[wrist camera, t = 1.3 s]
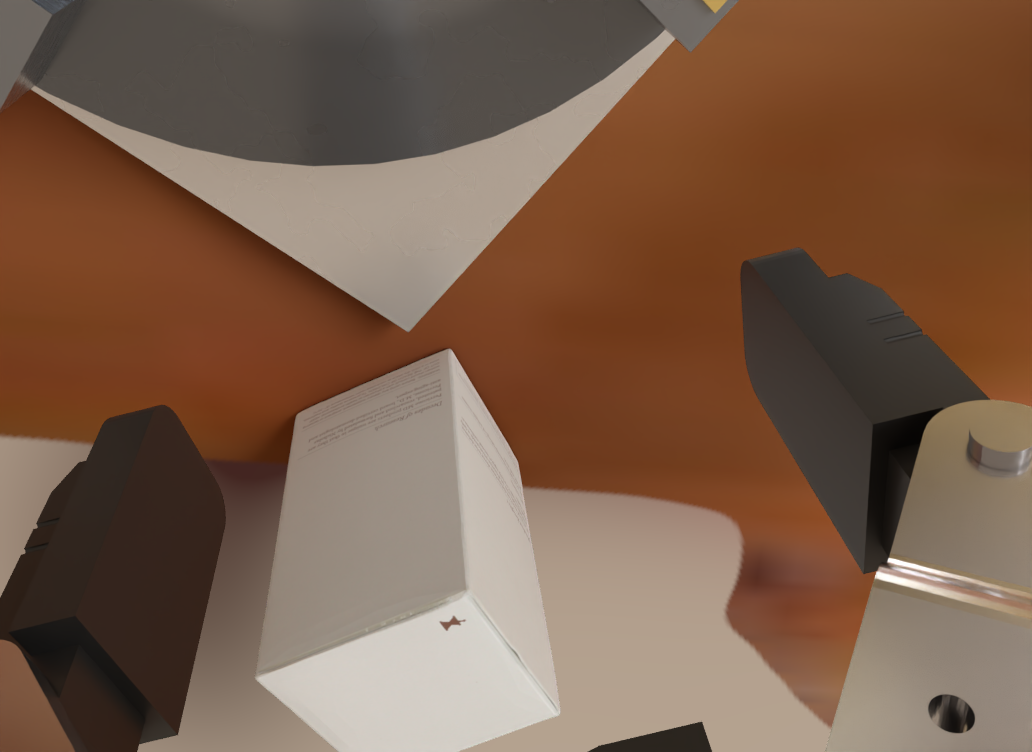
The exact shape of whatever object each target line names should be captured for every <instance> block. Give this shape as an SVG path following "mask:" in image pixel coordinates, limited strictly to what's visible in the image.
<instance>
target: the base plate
mask: <svg viewBox="0 0 1032 752" xmlns="http://www.w3.org/2000/svg"><path fill="white" fill-rule="evenodd" d="M674 40H675V38H674V37H673V36H672V35H671V34H669V33H668V32H667V31H666V30H664V31H663V32H662V33H661V34H660V35H659V36H658V37H657V38H656V39H655V40H653V41H652V42H651V43H650V44H648V45H647V46H646V47H645V48H643V49H642V50H641V51H639V52H638V53H637V54H636V55H634V56H633V57H632V58H631V59H629V60H628V61H627V62H625V63H624V64H623V65H622V66H620V67H619V68H618V69H616V70H615V71H614V72H613V73H611V74H610V75H609V76H608V77H606V78H605V79H604V80H602V81H600V82H599V83H597V84H595V85H594V86H592V87H590V88H589V89H587V90H585V91H584V92H582V93H580V94H579V95H577V96H575V97H574V98H572V99H570V100H569V101H567V102H565V103H564V104H562V105H560V106H559V107H557V108H556V109H554V110H552V111H551V112H549V113H546V114H544V115H542V116H540V117H537V118H535V119H533V120H531V121H528V122H526V123H524V124H521V125H519V126H517V127H515V128H512V129H510V130H508V131H506V132H503V133H501V134H499V135H497V136H494V137H492V138H488V139H485V140H481V141H478V142H475V143H471V144H468V145H465V146H461V147H458V148H455V149H451V150H448V151H445V152H441V153H438V154H434V155H428V156H422V157H415V158H409V159H403V160H397V161H391V162H385V163H379V164H363V165H334V166H305V165H294V164H283V163H271V162H260V161H249V160H245V159H240V158H235V157H230V156H225V155H221V154H216V153H211V152H206V151H201V150H197V149H192V148H187V147H183V146H180V145H177V144H174V143H171V142H168V141H165V140H162V139H159V138H156V137H153V136H150V135H147V134H144V133H141V132H138V131H135V130H132V129H128V128H125V127H122V126H119V125H117V124H114V123H112V122H110V121H108V120H106V119H103V118H101V117H99V116H97V115H95V114H92V113H90V112H88V111H86V110H84V109H81V108H79V107H77V106H75V105H72V104H70V103H68V102H66V101H64V100H61V99H59V98H57V97H55V96H53V95H50V94H48V93H46V92H45V91H43V90H41V89H40V88H38V87H36V86H34V87H33V88H31V90H33V91H34V92H36V93H37V94H39V95H40V96H42V97H44V98H45V99H47V100H48V101H50V102H51V103H53V104H54V105H56V106H58V107H59V108H61V109H62V110H64V111H65V112H67V113H68V114H70V115H72V116H73V117H75V118H76V119H78V120H79V121H81V122H82V123H84V124H86V125H87V126H89V127H90V128H92V129H93V130H95V131H96V132H98V133H100V134H101V135H103V136H104V137H106V138H107V139H109V140H110V141H112V142H114V143H115V144H117V145H118V146H120V147H121V148H123V149H124V150H126V151H128V152H129V153H131V154H132V155H134V156H135V157H137V158H138V159H140V160H141V161H143V162H145V163H146V164H148V165H149V166H151V167H152V168H154V169H155V170H157V171H159V172H160V173H162V174H163V175H165V176H166V177H168V178H169V179H171V180H173V181H174V182H176V183H177V184H179V185H180V186H182V187H183V188H185V189H187V190H188V191H190V192H191V193H193V194H194V195H196V196H197V197H199V198H201V199H202V200H204V201H205V202H207V203H208V204H210V205H211V206H213V207H215V208H216V209H218V210H219V211H221V212H222V213H224V214H225V215H227V216H229V217H230V218H232V219H233V220H235V221H236V222H238V223H239V224H241V225H242V226H244V227H246V228H247V229H249V230H250V231H252V232H253V233H255V234H256V235H258V236H260V237H261V238H263V239H264V240H266V241H267V242H269V243H270V244H272V245H274V246H275V247H277V248H278V249H280V250H281V251H283V252H284V253H286V254H288V255H289V256H291V257H292V258H294V259H295V260H297V261H298V262H300V263H302V264H303V265H305V266H306V267H308V268H309V269H311V270H312V271H314V272H316V273H317V274H319V275H320V276H322V277H323V278H325V279H326V280H328V281H330V282H331V283H333V284H334V285H336V286H337V287H339V288H340V289H342V290H343V291H345V292H347V293H348V294H350V295H351V296H353V297H354V298H356V299H357V300H359V301H361V302H362V303H364V304H365V305H367V306H368V307H370V308H371V309H373V310H375V311H376V312H378V313H379V314H381V315H382V316H384V317H385V318H387V319H389V320H390V321H392V322H393V323H395V324H396V325H398V326H399V327H401V328H403V329H404V330H406V331H407V332H409V331H410V330H411V329H412V328H413V327H414V326H415V325H416V324H417V322H418V321H419V320H420V319H421V318H422V317H423V316H424V315H425V314H426V313H427V311H428V310H429V309H430V308H431V307H432V306H433V305H434V304H435V303H436V302H437V300H438V299H439V298H440V297H441V296H442V295H443V294H444V293H445V292H446V291H447V289H448V288H449V287H450V286H451V285H452V284H453V283H454V282H455V281H456V280H457V278H458V277H459V276H460V275H461V274H462V273H463V272H464V271H465V270H466V268H467V267H468V266H469V265H470V264H471V263H472V262H473V261H474V260H475V259H476V257H477V256H478V255H479V254H480V253H481V252H482V251H483V250H484V249H485V248H486V246H487V245H488V244H489V243H490V242H491V241H492V240H493V239H494V238H495V237H496V235H497V234H498V233H499V232H500V231H501V230H502V229H503V228H504V227H505V226H506V224H507V223H508V222H509V221H510V220H511V219H512V218H513V217H514V216H515V215H516V213H517V212H518V211H519V210H520V209H521V208H522V207H523V206H524V205H525V204H526V202H527V201H528V200H529V199H530V198H531V197H532V196H533V195H534V194H535V193H536V191H537V190H538V189H539V188H540V187H541V186H542V185H543V184H544V183H545V182H546V180H547V179H548V178H549V177H550V176H551V175H552V174H553V173H554V172H555V171H556V169H557V168H558V167H559V166H560V165H561V164H562V163H563V162H564V161H565V160H566V158H567V157H568V156H569V155H570V154H571V153H572V152H573V151H574V150H575V149H576V147H577V146H578V145H579V144H580V143H581V142H582V141H583V140H584V139H585V138H586V136H587V135H588V134H589V133H590V132H591V131H592V130H593V129H594V128H595V127H596V125H597V124H598V123H599V122H600V121H601V120H602V119H603V118H604V117H605V116H606V114H607V113H608V112H609V111H610V110H611V109H612V108H613V107H614V106H615V105H616V103H617V102H618V101H619V100H620V99H621V98H622V97H623V96H624V95H625V94H626V92H627V91H628V90H629V89H630V88H631V87H632V86H633V85H634V84H635V82H636V81H637V80H638V79H639V78H640V77H641V76H642V75H643V74H644V73H645V71H646V70H647V69H648V68H649V67H650V66H651V65H652V64H653V63H654V62H655V60H656V59H657V58H658V57H659V56H660V55H661V54H662V53H663V52H664V51H665V49H666V48H667V47H668V46H669V45H670V44H671V43H672V42H673V41H674Z"/></svg>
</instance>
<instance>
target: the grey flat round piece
mask: <svg viewBox="0 0 1032 752" xmlns="http://www.w3.org/2000/svg"><path fill="white" fill-rule="evenodd" d="M738 1H739V0H0V113H2V112H3V111H4V110H5V109H6V108H8V107H9V106H10V105H11V104H13V103H14V102H15V101H16V100H18V99H19V98H20V97H21V96H23V95H24V94H25V93H26V92H28V91H29V90H30V89H31V88H33V87H34V86H36V87H38V88H40V89H41V90H43V91H45V92H46V93H48V94H50V95H53V96H55V97H57V98H59V99H61V100H64V101H66V102H68V103H70V104H72V105H75V106H77V107H79V108H81V109H84V110H86V111H88V112H90V113H92V114H95V115H97V116H99V117H101V118H103V119H106V120H108V121H110V122H112V123H114V124H117V125H119V126H122V127H125V128H128V129H132V130H135V131H138V132H141V133H144V134H147V135H150V136H153V137H156V138H159V139H162V140H165V141H168V142H171V143H174V144H177V145H180V146H183V147H187V148H192V149H197V150H201V151H206V152H211V153H216V154H221V155H225V156H230V157H235V158H240V159H245V160H249V161H260V162H271V163H283V164H294V165H305V166H334V165H363V164H379V163H385V162H391V161H397V160H403V159H409V158H415V157H422V156H428V155H434V154H438V153H441V152H445V151H448V150H451V149H455V148H458V147H461V146H465V145H468V144H471V143H475V142H478V141H481V140H485V139H488V138H492V137H494V136H497V135H499V134H501V133H503V132H506V131H508V130H510V129H512V128H515V127H517V126H519V125H521V124H524V123H526V122H528V121H531V120H533V119H535V118H537V117H540V116H542V115H544V114H546V113H549V112H551V111H552V110H554V109H556V108H557V107H559V106H560V105H562V104H564V103H565V102H567V101H569V100H570V99H572V98H574V97H575V96H577V95H579V94H580V93H582V92H584V91H585V90H587V89H589V88H590V87H592V86H594V85H595V84H597V83H599V82H600V81H602V80H604V79H605V78H606V77H608V76H609V75H610V74H611V73H613V72H614V71H615V70H616V69H618V68H619V67H620V66H622V65H623V64H624V63H625V62H627V61H628V60H629V59H631V58H632V57H633V56H634V55H636V54H637V53H638V52H639V51H641V50H642V49H643V48H645V47H646V46H647V45H648V44H650V43H651V42H652V41H653V40H655V39H656V38H657V37H658V36H659V35H660V34H661V33H662V32H663V31H664V30H666V31H667V32H668V33H669V34H671V35H672V36H673V37H674V38H675V39H676V40H677V41H678V42H679V43H680V44H682V45H683V46H684V47H685V48H686V49H687V50H688V51H689V52H691V51H692V50H693V49H694V48H695V47H696V46H697V45H698V44H699V43H700V42H701V41H702V39H703V38H704V37H705V36H706V35H707V34H708V33H709V32H710V31H711V30H712V29H713V28H714V26H715V25H716V24H717V23H718V22H719V21H720V20H721V19H722V18H723V17H724V16H725V15H726V14H727V12H728V11H729V10H730V9H731V8H732V7H733V6H734V5H735V4H736V3H737V2H738Z"/></svg>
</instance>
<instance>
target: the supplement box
mask: <svg viewBox="0 0 1032 752" xmlns="http://www.w3.org/2000/svg"><path fill="white" fill-rule="evenodd" d="M255 679H256V680H257V681H258V682H259V683H260V684H261V685H263V686H264V687H265V688H266V689H267V690H268V691H269V692H271V693H272V694H273V695H274V696H275V697H276V698H278V699H279V700H280V701H281V702H282V703H283V704H284V705H286V706H287V707H288V708H289V709H290V710H291V711H293V712H294V713H295V714H296V715H297V716H298V717H299V718H300V719H302V720H303V721H304V722H305V723H306V724H307V725H308V726H310V727H311V728H312V729H313V730H314V731H315V732H316V733H317V734H319V735H320V736H321V737H322V738H323V739H324V740H325V741H326V742H328V743H329V744H330V745H331V746H332V747H333V748H335V749H336V750H337V751H338V752H459V751H461V750H464V749H467V748H469V747H472V746H475V745H477V744H480V743H483V742H486V741H489V740H491V739H494V738H497V737H499V736H502V735H505V734H508V733H510V732H513V731H516V730H518V729H521V728H524V727H527V726H529V725H532V724H535V723H538V722H541V721H544V720H546V719H550V718H553V717H557V716H559V715H560V712H561V710H560V703H559V697H558V690H557V683H556V677H555V671H554V664H553V658H552V653H551V648H550V641H549V636H548V631H547V624H546V619H545V613H544V608H543V602H542V597H541V591H540V586H539V580H538V574H537V569H536V563H535V558H534V552H533V546H532V541H531V535H530V529H529V524H528V518H527V514H526V507H525V501H524V495H523V488H522V482H521V476H520V470H519V464H518V461H517V459H516V458H515V456H514V454H513V452H512V450H511V449H510V447H509V445H508V443H507V442H506V440H505V438H504V437H503V435H502V433H501V431H500V430H499V428H498V426H497V425H496V423H495V421H494V420H493V418H492V416H491V415H490V413H489V411H488V410H487V408H486V406H485V405H484V403H483V401H482V400H481V398H480V396H479V395H478V393H477V391H476V390H475V388H474V386H473V385H472V383H471V381H470V380H469V378H468V376H467V375H466V373H465V371H464V370H463V368H462V366H461V365H460V363H459V361H458V360H457V358H456V356H455V355H454V353H453V351H452V350H451V349H446V350H444V351H441V352H438V353H436V354H434V355H431V356H429V357H426V358H424V359H421V360H419V361H417V362H414V363H412V364H410V365H408V366H405V367H403V368H401V369H398V370H396V371H393V372H390V373H388V374H386V375H384V376H381V377H379V378H377V379H374V380H372V381H370V382H367V383H365V384H362V385H360V386H358V387H355V388H353V389H351V390H349V391H346V392H344V393H341V394H339V395H337V396H335V397H332V398H330V399H328V400H326V401H323V402H320V403H318V404H316V405H314V406H311V407H310V408H307V409H305V410H303V411H302V412H300V413H298V414H297V415H296V419H295V424H294V431H293V438H292V444H291V450H290V456H289V462H288V468H287V476H286V482H285V489H284V495H283V501H282V508H281V514H280V520H279V528H278V534H277V540H276V546H275V553H274V559H273V565H272V572H271V578H270V586H269V591H268V598H267V604H266V611H265V616H264V624H263V630H262V636H261V642H260V649H259V655H258V660H257V667H256V672H255Z"/></svg>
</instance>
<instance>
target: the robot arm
mask: <svg viewBox="0 0 1032 752" xmlns="http://www.w3.org/2000/svg"><path fill="white" fill-rule="evenodd" d="M741 295H742V313H743V330H744V348H745V359H746V365H747V369H748V374H749V377H750V380H751V383H752V386H753V389H754V391H755V393H756V395H757V397H758V399H759V401H760V402H761V404H762V406H763V407H764V409H765V411H766V412H767V414H768V416H769V417H770V419H771V421H772V422H773V424H774V426H775V427H776V429H777V431H778V432H779V434H780V436H781V437H782V439H783V441H784V442H785V444H786V446H787V447H788V449H789V451H790V452H791V454H792V456H793V457H794V459H795V461H796V462H797V464H798V466H799V467H800V469H801V471H802V472H803V474H804V476H805V477H806V479H807V481H808V482H809V484H810V486H811V487H812V489H813V491H814V492H815V494H816V496H817V497H818V499H819V501H820V502H821V504H822V506H823V507H824V509H825V511H826V512H827V514H828V516H829V517H830V519H831V521H832V522H833V524H834V526H835V527H836V529H837V531H838V532H839V534H840V536H841V537H842V539H843V541H844V542H845V544H846V546H847V547H848V549H849V551H850V552H851V554H852V556H853V557H854V559H855V561H856V562H857V564H858V566H859V567H860V569H861V571H862V572H863V574H865V573H870V572H874V571H877V573H876V576H875V579H874V582H873V586H872V589H871V593H870V596H869V600H868V603H867V607H866V610H865V614H864V617H863V621H862V624H861V628H860V631H859V635H858V638H857V642H856V645H855V649H854V652H853V656H852V659H851V663H850V666H849V670H848V673H847V677H846V680H845V684H844V687H843V691H842V694H841V698H840V701H839V705H838V708H837V712H836V715H835V719H834V722H833V726H832V729H831V733H830V736H829V740H828V743H827V747H826V750H825V752H1032V407H1030V406H1027V405H1023V404H1019V403H1014V402H1009V401H1000V400H990V399H989V398H988V397H987V396H986V395H985V394H984V393H983V392H982V391H981V390H980V389H979V388H978V387H977V386H976V385H975V384H974V383H973V382H972V381H971V379H970V378H969V377H968V376H967V375H966V374H965V373H964V372H963V371H962V370H961V369H960V368H959V367H958V366H957V365H956V364H955V363H954V362H953V361H952V360H951V359H950V358H949V357H948V356H947V355H946V354H945V353H944V352H943V351H942V350H941V349H940V348H939V347H938V346H937V345H936V344H935V343H934V342H933V341H932V340H931V339H930V338H929V337H928V336H927V335H923V334H922V329H921V328H920V327H919V326H918V325H917V324H916V323H915V322H914V321H913V320H912V319H911V318H910V317H909V316H904V311H903V310H902V309H901V308H900V307H899V306H898V305H897V304H896V303H895V302H894V301H893V300H892V299H891V298H890V297H889V296H888V295H887V294H886V293H885V292H884V291H883V290H882V289H881V288H879V287H877V286H874V285H872V284H870V283H868V282H865V281H863V280H861V279H859V278H857V277H854V276H852V275H850V274H848V273H846V274H842V275H838V276H834V277H830V278H828V277H827V276H826V274H825V273H824V272H823V271H822V270H821V269H820V268H819V267H818V265H817V264H816V263H815V262H814V261H813V260H812V259H811V258H810V256H809V255H808V254H807V253H806V252H805V251H804V250H803V249H801V248H794V249H790V250H786V251H782V252H778V253H774V254H770V255H766V256H762V257H758V258H754V259H750V260H746V261H744V262H743V263H742V266H741ZM225 519H226V517H225V506H224V500H223V496H222V493H221V491H220V488H219V486H218V484H217V482H216V480H215V478H214V477H213V475H212V473H211V471H210V470H209V468H208V466H207V465H206V463H205V461H204V460H203V458H202V456H201V455H200V453H199V451H198V450H197V448H196V446H195V445H194V443H193V441H192V440H191V438H190V436H189V435H188V433H187V431H186V430H185V428H184V426H183V425H182V423H181V421H180V420H179V418H178V417H177V415H176V414H175V413H174V411H173V410H172V409H170V408H169V407H167V406H165V405H159V406H155V407H151V408H147V409H143V410H139V411H135V412H131V413H127V414H123V415H119V416H115V417H111V418H109V419H107V420H106V421H105V422H104V423H103V425H102V427H101V429H100V432H99V434H98V436H97V438H96V440H95V443H94V445H93V447H92V449H91V451H90V454H89V456H88V458H87V460H86V461H83V462H79V463H78V464H77V465H76V466H75V467H74V468H73V469H72V471H71V472H70V473H69V474H68V475H67V476H66V477H65V478H64V479H63V480H62V481H61V483H60V484H59V485H58V486H57V487H56V488H55V489H54V490H53V491H52V493H51V495H50V496H49V498H48V501H47V503H46V505H45V507H44V509H43V511H42V513H41V515H40V517H39V519H38V521H37V526H38V528H37V529H33V532H32V534H31V536H30V538H29V540H28V542H27V544H26V546H25V548H24V549H25V551H26V553H25V554H23V555H21V556H20V558H19V561H18V563H17V564H16V567H15V569H14V571H13V573H12V575H11V577H10V579H9V581H8V583H7V585H6V587H5V589H4V591H3V593H2V595H1V597H0V752H137V750H138V746H139V744H142V743H146V742H150V741H154V740H158V739H163V738H167V737H171V736H175V735H178V732H179V727H180V722H181V718H182V714H183V709H184V705H185V701H186V696H187V692H188V687H189V683H190V679H191V674H192V669H193V665H194V661H195V656H196V652H197V648H198V643H199V639H200V634H201V630H202V625H203V621H204V617H205V612H206V608H207V604H208V599H209V594H210V590H211V586H212V581H213V577H214V572H215V568H216V564H217V559H218V555H219V551H220V546H221V542H222V537H223V532H224V529H225ZM589 752H712V750H711V747H710V744H709V741H708V739H707V735H706V732H705V730H704V726H703V724H702V722H698V723H695V724H690V725H686V726H681V727H677V728H673V729H669V730H665V731H660V732H656V733H652V734H648V735H644V736H639V737H635V738H631V739H626V740H622V741H618V742H614V743H610V744H605V745H601V746H598V747H596V748H594V749H592V750H590V751H589Z"/></svg>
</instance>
